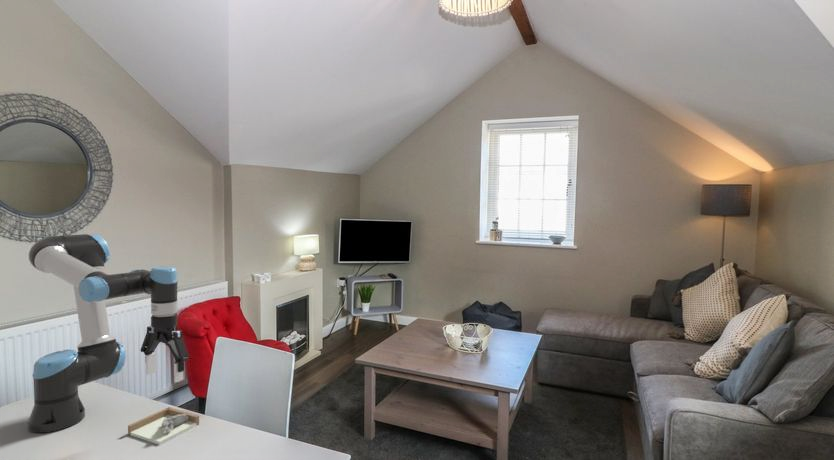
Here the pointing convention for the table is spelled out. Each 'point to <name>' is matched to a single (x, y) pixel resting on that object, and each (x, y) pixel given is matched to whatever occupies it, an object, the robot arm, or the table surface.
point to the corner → (153, 423)
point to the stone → (173, 422)
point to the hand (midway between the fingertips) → (164, 377)
